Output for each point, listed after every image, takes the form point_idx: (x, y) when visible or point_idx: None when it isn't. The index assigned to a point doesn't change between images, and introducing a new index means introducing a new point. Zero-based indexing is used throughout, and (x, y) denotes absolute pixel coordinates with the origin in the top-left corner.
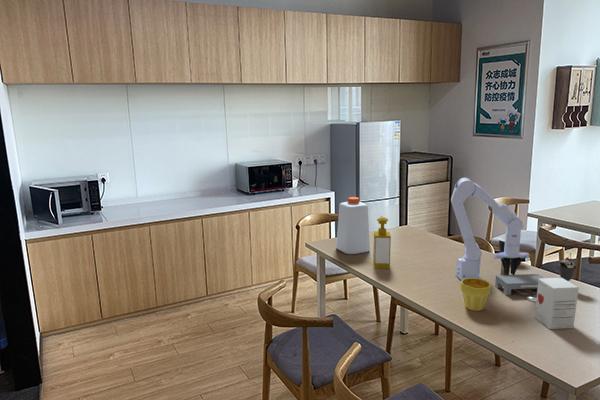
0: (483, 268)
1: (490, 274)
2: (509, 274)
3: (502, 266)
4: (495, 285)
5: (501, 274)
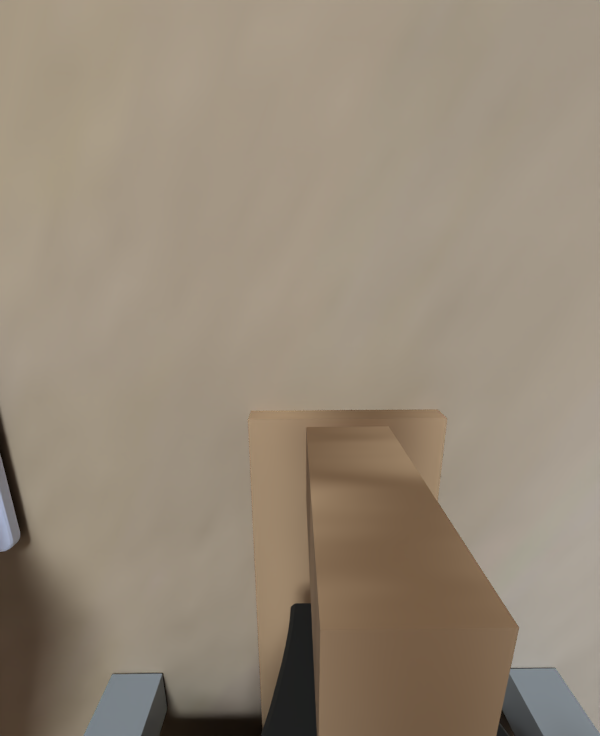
0: (184, 32)
1: (197, 339)
2: (442, 422)
3: (313, 578)
4: (104, 696)
5: (306, 459)
